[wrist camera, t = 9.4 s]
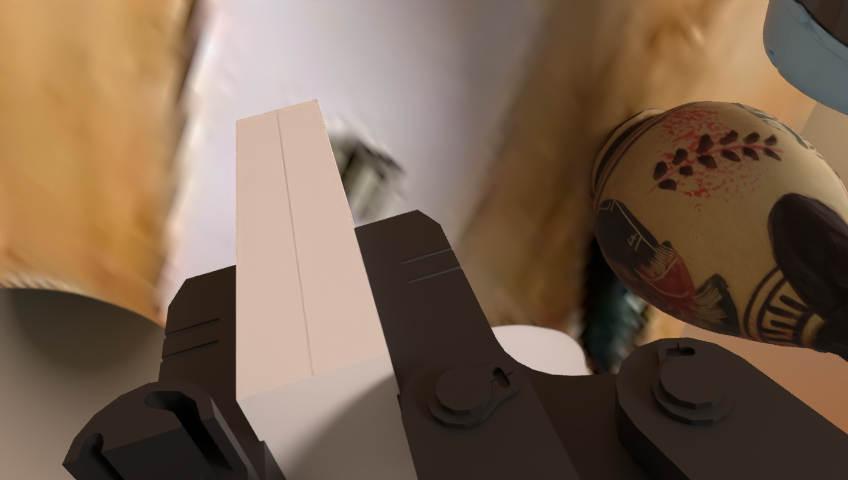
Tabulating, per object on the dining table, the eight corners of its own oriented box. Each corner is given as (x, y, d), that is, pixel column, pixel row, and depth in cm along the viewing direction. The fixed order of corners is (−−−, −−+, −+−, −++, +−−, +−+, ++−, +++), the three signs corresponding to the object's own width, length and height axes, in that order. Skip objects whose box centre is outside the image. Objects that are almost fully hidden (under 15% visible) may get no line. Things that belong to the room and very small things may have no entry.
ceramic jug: (711, 216, 56) (1065, 511, 33) (556, 256, 54) (816, 604, 30) (751, 32, 46) (1307, 265, 23) (563, 71, 44) (962, 376, 20)
